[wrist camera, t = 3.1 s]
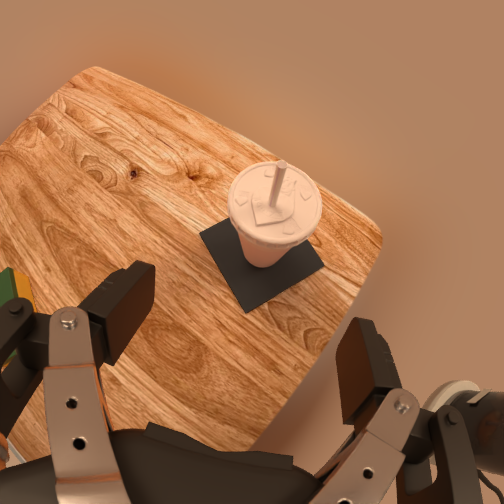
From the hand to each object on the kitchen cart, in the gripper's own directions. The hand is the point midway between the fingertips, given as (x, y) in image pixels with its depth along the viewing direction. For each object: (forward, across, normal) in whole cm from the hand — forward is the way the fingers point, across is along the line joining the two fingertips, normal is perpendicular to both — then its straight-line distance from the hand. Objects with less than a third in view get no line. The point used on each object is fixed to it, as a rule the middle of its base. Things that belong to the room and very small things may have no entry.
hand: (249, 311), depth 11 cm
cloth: (+16, 0, +5) cm, 17 cm away
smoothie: (+16, 0, +5) cm, 17 cm away
